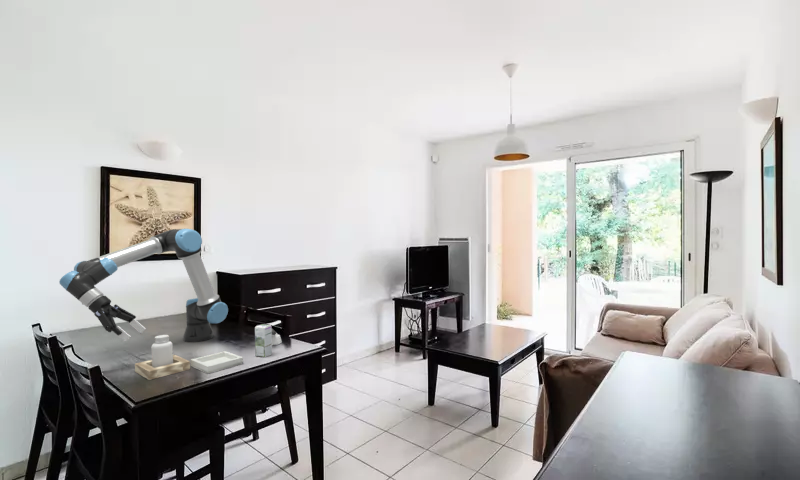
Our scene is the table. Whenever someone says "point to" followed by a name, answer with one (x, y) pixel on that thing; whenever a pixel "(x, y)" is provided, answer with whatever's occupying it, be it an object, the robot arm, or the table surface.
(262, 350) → the syrup box
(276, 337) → the inkwell
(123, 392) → the table surface
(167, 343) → the pill bottle
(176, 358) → the holder
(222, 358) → the tray
